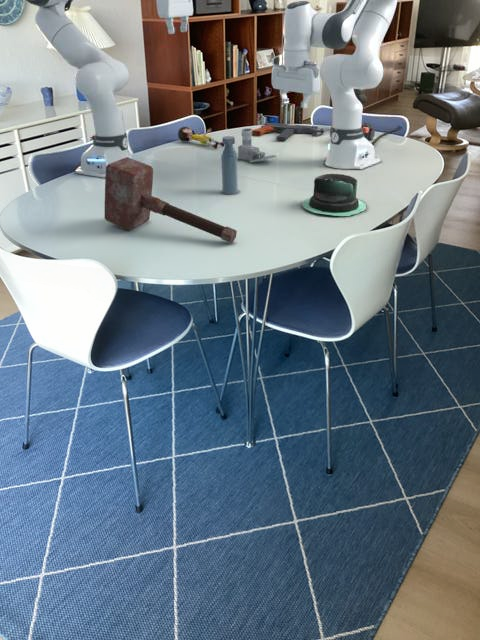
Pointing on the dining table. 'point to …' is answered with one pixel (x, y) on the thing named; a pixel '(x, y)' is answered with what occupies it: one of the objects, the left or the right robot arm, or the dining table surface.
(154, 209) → the sledgehammer
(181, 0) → the left robot arm
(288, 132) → the submachine gun
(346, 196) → the round two-tone rimmed part
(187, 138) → the figurine
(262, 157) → the camera
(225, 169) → the bottle
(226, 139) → the cap
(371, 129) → the toy
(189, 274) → the dining table surface
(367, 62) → the right robot arm
